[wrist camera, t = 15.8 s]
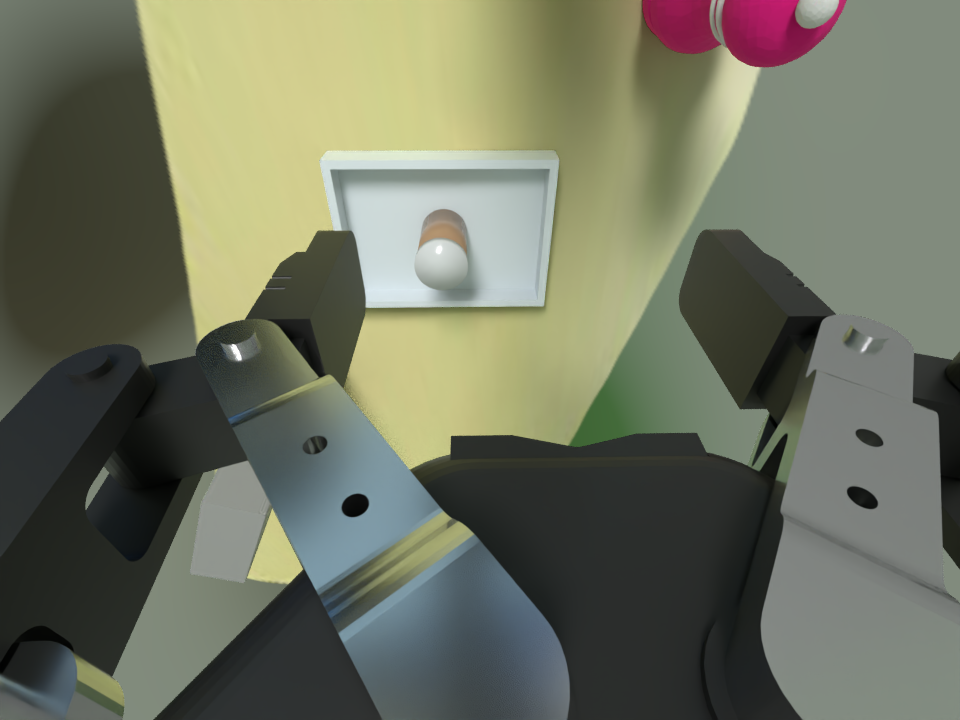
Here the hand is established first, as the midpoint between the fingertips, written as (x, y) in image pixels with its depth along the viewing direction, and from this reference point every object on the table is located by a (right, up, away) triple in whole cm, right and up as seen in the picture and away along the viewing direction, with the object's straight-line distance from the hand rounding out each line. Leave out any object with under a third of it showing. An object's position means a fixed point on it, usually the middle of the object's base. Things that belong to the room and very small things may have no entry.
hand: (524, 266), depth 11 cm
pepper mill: (+15, +28, +27) cm, 41 cm away
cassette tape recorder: (-25, -4, +52) cm, 58 cm away
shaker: (-5, +12, +39) cm, 41 cm away
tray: (-5, +12, +39) cm, 41 cm away
